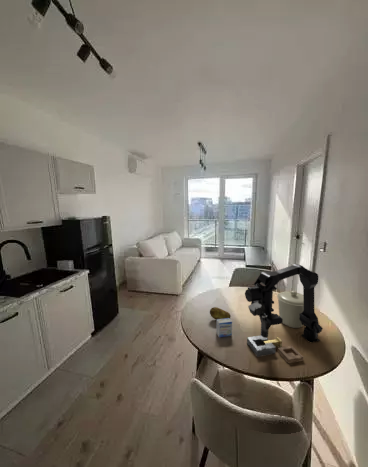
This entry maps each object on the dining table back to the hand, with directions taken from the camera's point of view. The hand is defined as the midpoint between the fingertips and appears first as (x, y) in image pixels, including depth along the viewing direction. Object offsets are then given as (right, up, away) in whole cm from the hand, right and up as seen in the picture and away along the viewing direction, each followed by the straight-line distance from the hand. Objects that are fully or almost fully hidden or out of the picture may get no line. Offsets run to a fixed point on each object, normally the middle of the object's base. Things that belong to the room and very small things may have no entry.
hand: (264, 327), depth 106 cm
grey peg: (0, -4, +1) cm, 5 cm away
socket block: (-1, -12, +3) cm, 13 cm away
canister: (+26, -9, +25) cm, 37 cm away
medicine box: (-18, -11, +15) cm, 25 cm away
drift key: (+5, -12, +4) cm, 14 cm away
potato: (-18, -8, +29) cm, 35 cm away
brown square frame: (+11, -13, -3) cm, 17 cm away
